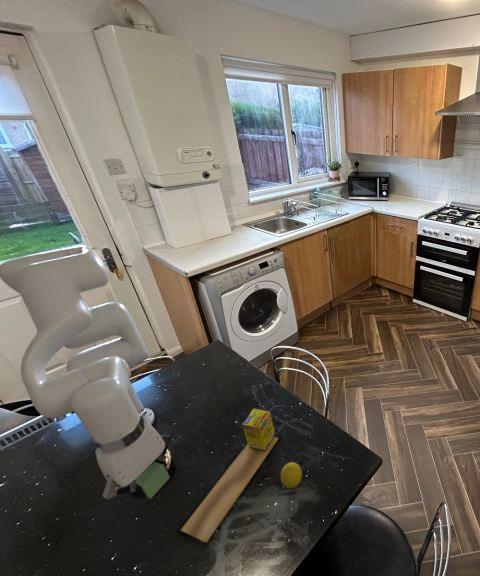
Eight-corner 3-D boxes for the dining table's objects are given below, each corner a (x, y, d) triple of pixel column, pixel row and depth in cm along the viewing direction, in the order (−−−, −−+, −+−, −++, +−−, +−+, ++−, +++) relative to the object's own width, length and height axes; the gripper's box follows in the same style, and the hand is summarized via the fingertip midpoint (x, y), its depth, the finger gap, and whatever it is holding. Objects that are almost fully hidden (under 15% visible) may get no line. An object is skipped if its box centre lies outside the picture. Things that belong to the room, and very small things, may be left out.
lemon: (285, 498, 83) (281, 480, 79) (281, 479, 87) (276, 462, 83) (305, 488, 85) (302, 471, 81) (300, 470, 89) (297, 453, 86)
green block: (134, 491, 70) (125, 478, 68) (154, 470, 75) (147, 458, 72) (150, 499, 69) (142, 486, 67) (170, 477, 73) (163, 464, 71)
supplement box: (266, 452, 94) (259, 428, 89) (248, 448, 95) (241, 424, 90) (276, 434, 99) (270, 411, 94) (259, 431, 100) (252, 408, 95)
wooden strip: (180, 530, 76) (180, 530, 76) (257, 431, 100) (257, 431, 100) (206, 543, 74) (206, 542, 74) (278, 438, 98) (278, 438, 98)
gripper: (147, 396, 71) (172, 445, 80) (58, 465, 57) (100, 516, 66) (172, 405, 69) (194, 455, 78) (86, 479, 55) (126, 530, 64)
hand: (151, 482), depth 72 cm, fingers closed on green block, 5 cm apart
